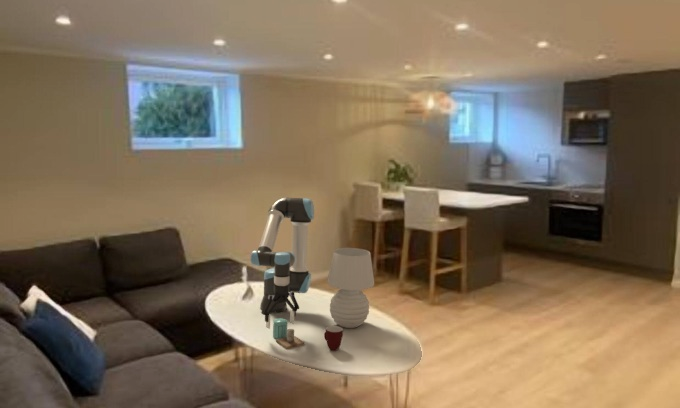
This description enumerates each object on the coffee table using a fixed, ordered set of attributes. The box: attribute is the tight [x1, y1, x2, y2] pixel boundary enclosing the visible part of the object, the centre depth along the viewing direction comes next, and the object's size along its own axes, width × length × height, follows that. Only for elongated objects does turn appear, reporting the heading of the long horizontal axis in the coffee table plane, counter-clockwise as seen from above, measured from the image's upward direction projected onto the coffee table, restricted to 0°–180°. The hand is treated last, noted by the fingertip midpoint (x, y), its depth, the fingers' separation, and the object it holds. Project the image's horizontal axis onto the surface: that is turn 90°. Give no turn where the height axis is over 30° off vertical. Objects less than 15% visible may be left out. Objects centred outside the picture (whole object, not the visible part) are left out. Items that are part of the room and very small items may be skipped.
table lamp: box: [326, 247, 375, 329], centre depth 275 cm, size 25×25×40 cm
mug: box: [323, 325, 344, 352], centre depth 245 cm, size 10×8×10 cm
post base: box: [275, 328, 305, 350], centre depth 249 cm, size 10×10×7 cm
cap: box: [272, 317, 288, 340], centre depth 257 cm, size 7×7×8 cm
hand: (280, 325), depth 256 cm, fingers open, 13 cm apart
